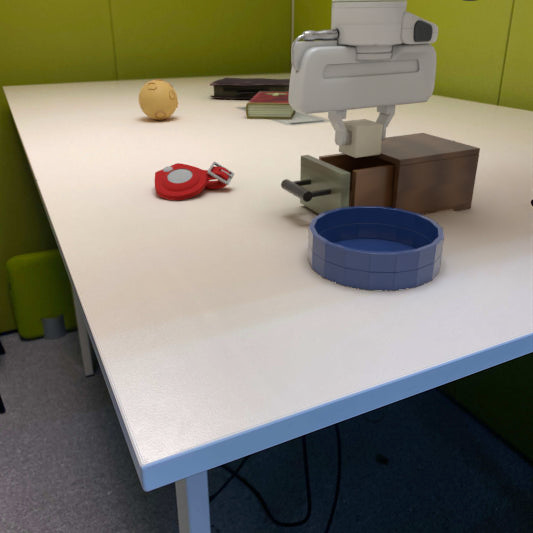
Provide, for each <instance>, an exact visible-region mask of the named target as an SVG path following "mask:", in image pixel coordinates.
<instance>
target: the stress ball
mask: <svg viewBox="0 0 533 533" xmlns="http://www.w3.org/2000/svg"><path fill="white" fill-rule="evenodd" d="M178 100H179V99H178V94H177V92H176V90H175V89H174V86H173V85H172V84H171V83H169V82H167V81H164V80H163V79H159V78H155V79H152V80H150V81H147V82H146V83H145V84H143V86H142V87H141V88H140V91H139V93H138V105H139V108H140V109H141V111H142V112H143V114H144V115H145V116H147V117H148V118H149V119H153V120H156V121H161V120H166V119H169V118H170V117H171V116H172V115H173V114H174V113H175V112H176V110H177V108H178V106H179V101H178Z"/></svg>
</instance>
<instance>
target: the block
mask: <svg viewBox="0 0 533 533" xmlns="http://www.w3.org/2000/svg"><path fill="white" fill-rule="evenodd" d="M342 121H343V120H342ZM343 123H344V125H345V128H346V130H347V131H351V132H352V138H351V140H352V141H351V144H350V145H345V146H339V145H338V152H339V153H344V154H347V155H349V156H352V157H354V158H359V157H366V156H373V155H380V154H381V141H382V129H383V124H381V123H378V122H376V121H374V120H370V119H366V118H362V119H353V120H352V119H351V120H344V121H343Z"/></svg>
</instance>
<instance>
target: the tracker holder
mask: <svg viewBox="0 0 533 533" xmlns="http://www.w3.org/2000/svg"><path fill="white" fill-rule="evenodd" d="M234 176H235V172H233V171H231V170H230V169H228V168H227V167H225V166H224V165H222V164H220V163H218V162H217V161H213V162H212V163H211V164H210V167H209V168H208V169H202V168H200V167H197V166H194V165H190V164H186V163H179V162H177V163H174V164H172V165H169V166H168V165H167V166H165V167H164V168H162V169H160V170H157V171H155V172H154V189H155V193H156V194H157V196H158V197H160V198H162V199H164V200H167V201H184V200H189V199H191V198H194V197H196V196H197V195H199V194H200V193H201V192H203V191H204V188H205V190H218V189H219V190H220V189H224V188H225V187H227V186H229V185H230V183H231V181H232V179H233V177H234Z"/></svg>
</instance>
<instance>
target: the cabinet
mask: <svg viewBox="0 0 533 533" xmlns="http://www.w3.org/2000/svg"><path fill="white" fill-rule="evenodd" d="M480 151H481V148H480V147H477V146H473V145H470V144H467V143H462V142H458V141H456V140H451V139H448V138H444V137H440V136H437V135H433V134H429V133H425V132H419V133H410V134H402V135H394V136H388V137H386V136H385V140H383V141H381V154H380V155H373V156H374V157H377V158H379V159H382V160H385V161H388V162H390V163H393V164H396V170H395V180H394V191H393V201H392V208H398V209H403V210H407V211H411V212H415V213H418V214H421V215H423V216H425V215H430V214H434V213H440V212H444V211H450V210H452V211H455V212H459V211H462V210H468V209H471V208H472V202H473V196H474V191H475V190H474V189H475V184H476V177H477V172H478V171H477V170H478V166H479V158H480Z"/></svg>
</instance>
